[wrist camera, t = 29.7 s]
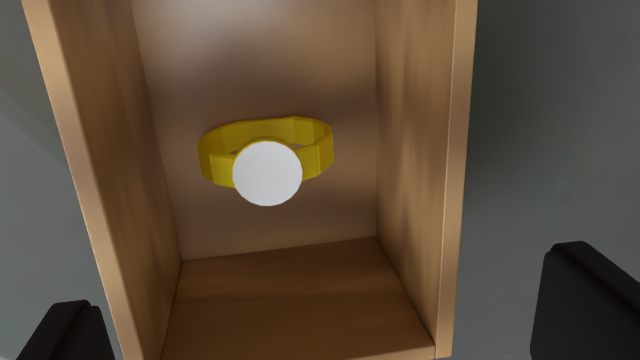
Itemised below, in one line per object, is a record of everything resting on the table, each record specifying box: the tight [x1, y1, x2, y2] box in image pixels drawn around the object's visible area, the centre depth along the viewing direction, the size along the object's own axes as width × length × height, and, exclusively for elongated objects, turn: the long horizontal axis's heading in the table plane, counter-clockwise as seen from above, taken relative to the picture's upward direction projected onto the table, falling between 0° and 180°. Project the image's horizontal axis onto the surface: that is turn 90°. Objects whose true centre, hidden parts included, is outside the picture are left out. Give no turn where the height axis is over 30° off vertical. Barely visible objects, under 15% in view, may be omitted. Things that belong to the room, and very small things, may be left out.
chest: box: [21, 0, 478, 360], centre depth 19 cm, size 18×12×10 cm
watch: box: [197, 116, 334, 206], centre depth 20 cm, size 6×3×6 cm, turn 94°
